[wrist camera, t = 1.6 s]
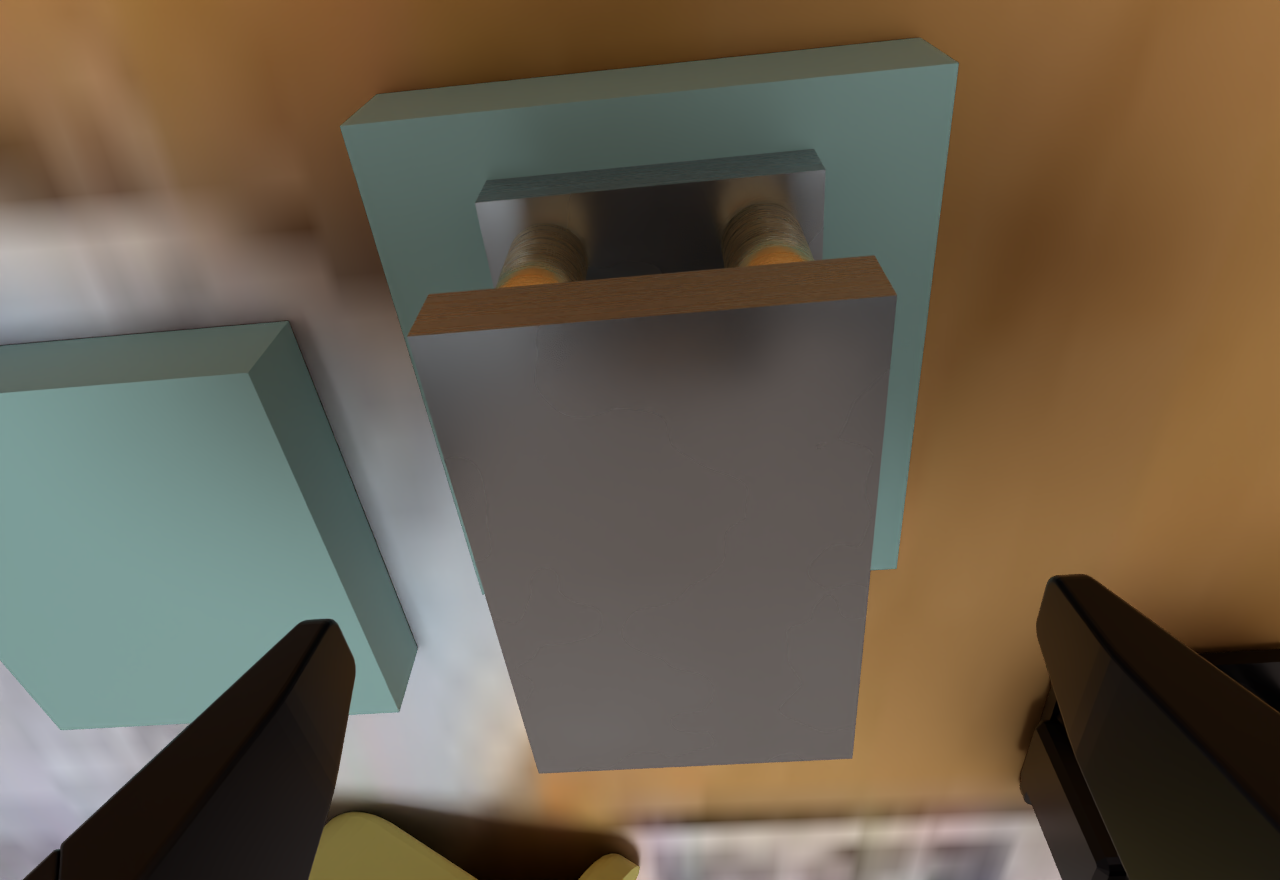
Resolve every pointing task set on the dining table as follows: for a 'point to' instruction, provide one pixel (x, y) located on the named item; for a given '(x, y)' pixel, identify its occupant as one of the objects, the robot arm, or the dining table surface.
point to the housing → (668, 457)
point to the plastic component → (408, 855)
